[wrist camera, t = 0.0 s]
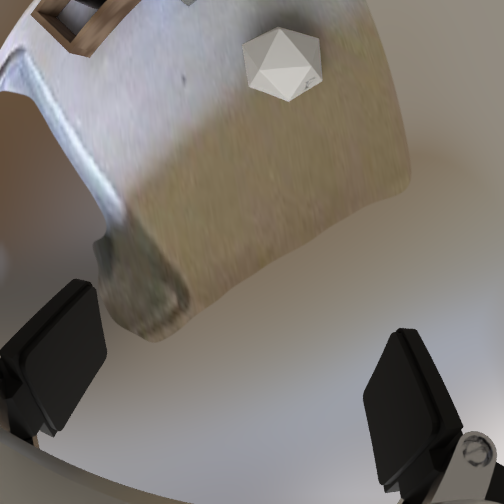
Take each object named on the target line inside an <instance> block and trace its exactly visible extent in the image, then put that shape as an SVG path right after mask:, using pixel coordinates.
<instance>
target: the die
mask: <svg viewBox="0 0 504 504" xmlns="http://www.w3.org/2000/svg"><path fill="white" fill-rule="evenodd" d="M242 48H243V54H244V60H245V66H246V73H247V79H248V85H249V87H251V88H254V89H257V90H260V91H262V92H265V93H268V94H270V95H273V96H275V97H278V98H281V99H283V100H286V101H288V102H289V101H291V100H292V99H294V98H295V97H297V96H299V95H300V94H302V93H303V92H305V91H307V90H308V89H310V88H312V87H313V86H315V85H317V84H318V83H320V82H322V81H323V80H322V67H321V55H320V44H319V38H315V37H312V36H309V35H306V34H303V33H299V32H296V31H292V30H288V29H285V28H281V27H276V28H274V29H272V30H270V31H268V32H266V33H264V34H262V35H260V36H258V37H256V38H254V39H252V40H250V41H248V42H246V43H244V44H242Z"/></svg>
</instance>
